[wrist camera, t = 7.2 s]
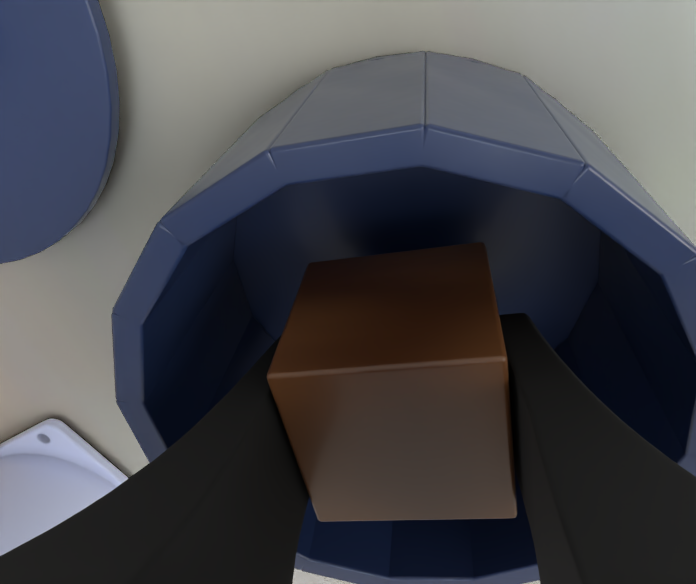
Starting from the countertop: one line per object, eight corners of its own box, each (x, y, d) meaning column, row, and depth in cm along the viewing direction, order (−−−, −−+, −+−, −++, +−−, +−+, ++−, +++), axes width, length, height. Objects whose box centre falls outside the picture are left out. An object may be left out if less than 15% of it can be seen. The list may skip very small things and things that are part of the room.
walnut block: (342, 390, 15) (317, 523, 11) (306, 261, 13) (263, 376, 9) (496, 380, 14) (518, 520, 10) (485, 239, 12) (508, 357, 8)
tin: (353, 444, 20) (327, 626, 15) (141, 198, 16) (-8, 331, 10) (677, 326, 16) (806, 524, 10) (509, -59, 11) (583, -62, 6)
